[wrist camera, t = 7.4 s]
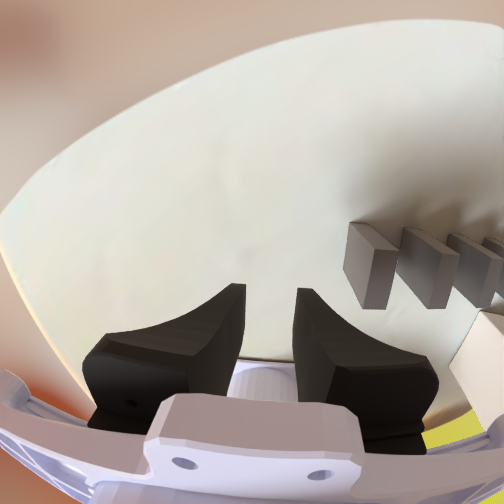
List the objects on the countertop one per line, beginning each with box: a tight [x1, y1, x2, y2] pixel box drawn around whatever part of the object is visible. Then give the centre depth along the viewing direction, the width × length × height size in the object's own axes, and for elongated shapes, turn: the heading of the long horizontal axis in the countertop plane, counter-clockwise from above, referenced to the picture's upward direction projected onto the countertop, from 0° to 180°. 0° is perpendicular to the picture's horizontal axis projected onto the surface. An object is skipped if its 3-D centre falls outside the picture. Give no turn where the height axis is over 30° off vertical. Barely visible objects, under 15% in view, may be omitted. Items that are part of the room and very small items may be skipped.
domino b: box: [396, 227, 460, 309], centre depth 17 cm, size 4×2×6 cm, turn 178°
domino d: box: [483, 238, 504, 298], centre depth 16 cm, size 4×2×6 cm, turn 178°
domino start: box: [343, 222, 399, 310], centre depth 17 cm, size 4×2×6 cm, turn 178°
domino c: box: [446, 233, 504, 308], centre depth 17 cm, size 4×2×6 cm, turn 178°
